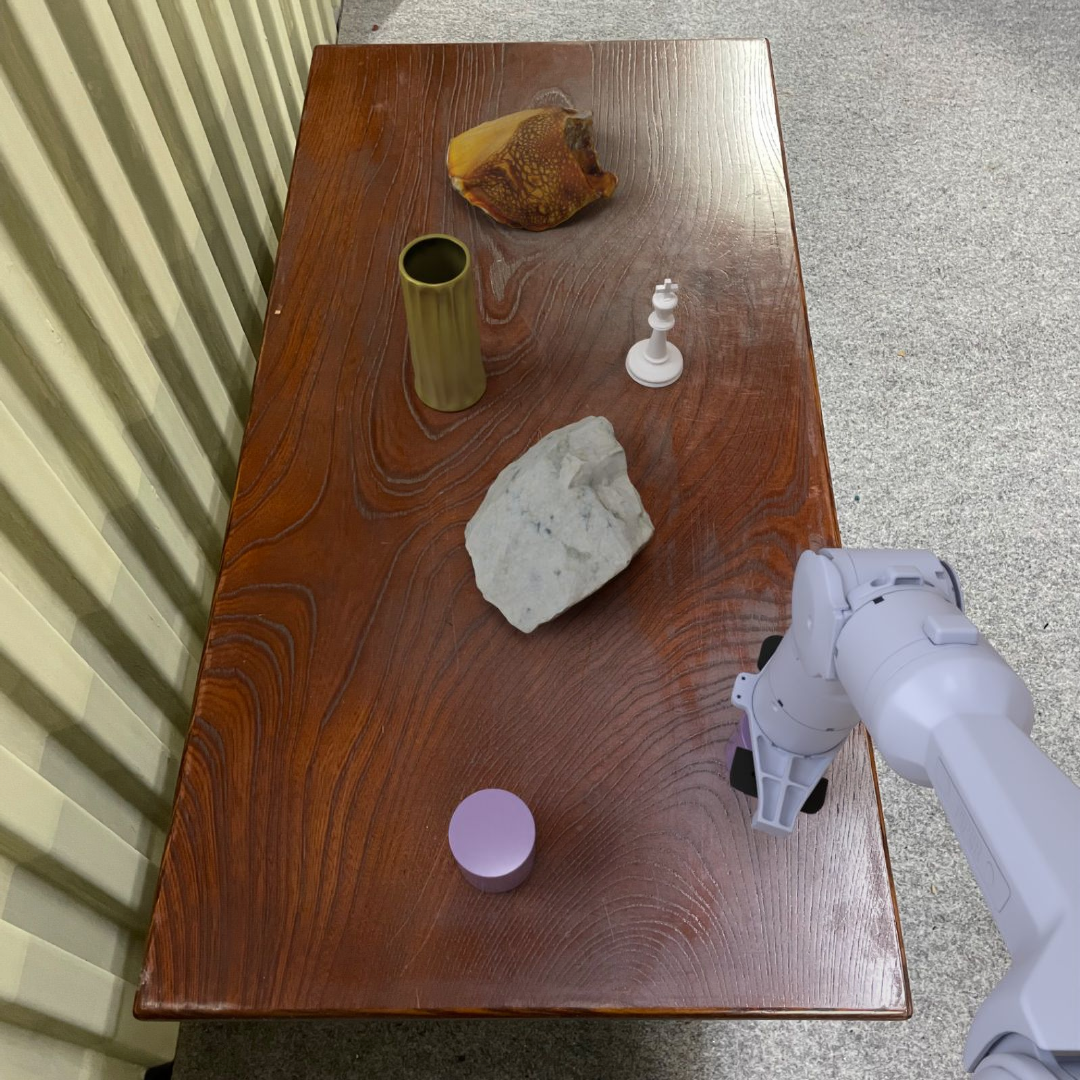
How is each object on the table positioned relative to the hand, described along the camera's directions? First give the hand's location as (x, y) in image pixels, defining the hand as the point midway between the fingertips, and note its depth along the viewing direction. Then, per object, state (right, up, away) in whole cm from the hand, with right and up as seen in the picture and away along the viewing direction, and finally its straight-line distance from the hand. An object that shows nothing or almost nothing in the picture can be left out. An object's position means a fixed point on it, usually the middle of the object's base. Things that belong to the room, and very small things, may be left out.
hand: (768, 751), depth 63 cm
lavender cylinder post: (-18, -6, -2) cm, 19 cm away
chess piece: (-5, +29, +18) cm, 35 cm away
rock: (-14, +14, +10) cm, 22 cm away
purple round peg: (0, -1, +1) cm, 2 cm away
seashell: (-16, +50, +29) cm, 60 cm away
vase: (-23, +27, +17) cm, 39 cm away
